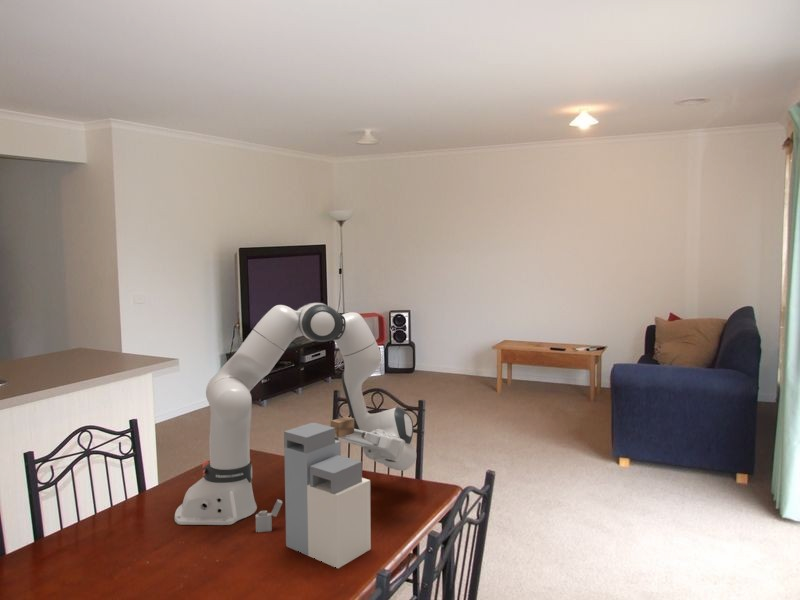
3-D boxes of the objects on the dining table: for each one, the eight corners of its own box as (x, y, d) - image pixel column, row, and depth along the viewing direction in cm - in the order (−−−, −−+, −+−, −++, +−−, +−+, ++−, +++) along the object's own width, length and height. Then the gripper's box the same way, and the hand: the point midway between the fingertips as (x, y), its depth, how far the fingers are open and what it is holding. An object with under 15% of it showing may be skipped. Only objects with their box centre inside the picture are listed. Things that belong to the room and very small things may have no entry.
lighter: (256, 532, 170) (255, 503, 170) (255, 529, 172) (255, 501, 171) (283, 529, 172) (282, 500, 171) (282, 526, 174) (282, 498, 173)
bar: (345, 431, 175) (346, 416, 174) (354, 433, 173) (354, 418, 172) (300, 444, 161) (300, 428, 161) (308, 446, 159) (308, 430, 159)
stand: (319, 529, 172) (318, 420, 169) (370, 549, 161) (369, 433, 158) (286, 546, 163) (283, 431, 160) (337, 568, 152) (336, 445, 149)
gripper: (355, 428, 191) (327, 414, 181) (410, 441, 179) (383, 427, 169) (348, 448, 189) (319, 435, 179) (403, 463, 177) (375, 450, 167)
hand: (350, 431), depth 174 cm, fingers open, 8 cm apart
